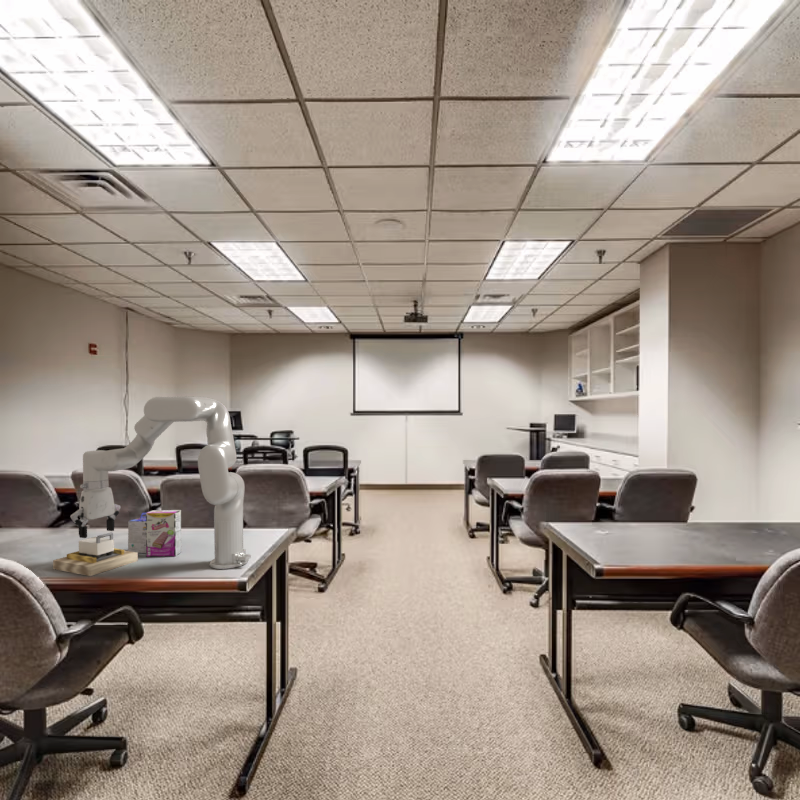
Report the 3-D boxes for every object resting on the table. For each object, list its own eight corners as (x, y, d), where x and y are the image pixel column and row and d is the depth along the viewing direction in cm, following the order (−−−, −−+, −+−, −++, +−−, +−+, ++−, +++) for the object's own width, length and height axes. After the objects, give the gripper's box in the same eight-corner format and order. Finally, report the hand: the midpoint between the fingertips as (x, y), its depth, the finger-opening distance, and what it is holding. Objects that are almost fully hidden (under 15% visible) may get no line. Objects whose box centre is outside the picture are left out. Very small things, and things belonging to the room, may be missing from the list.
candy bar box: (145, 557, 176) (145, 512, 176) (152, 553, 181) (152, 510, 181) (175, 556, 176) (175, 512, 176) (181, 552, 181) (181, 509, 181)
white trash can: (114, 554, 169) (113, 532, 169) (97, 559, 164) (97, 536, 164) (95, 551, 173) (95, 529, 173) (78, 556, 168) (78, 533, 168)
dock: (137, 560, 172) (137, 548, 172) (90, 576, 157) (90, 562, 157) (101, 555, 180) (101, 543, 180) (53, 569, 165) (53, 555, 165)
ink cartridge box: (160, 549, 187) (160, 512, 187) (151, 553, 181) (151, 515, 181) (136, 548, 188) (136, 511, 188) (127, 553, 182) (127, 515, 183)
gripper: (77, 489, 160) (78, 541, 159) (126, 482, 175) (127, 528, 175) (63, 489, 163) (64, 539, 162) (112, 481, 178) (113, 527, 178)
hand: (97, 534), depth 169 cm, fingers open, 9 cm apart
